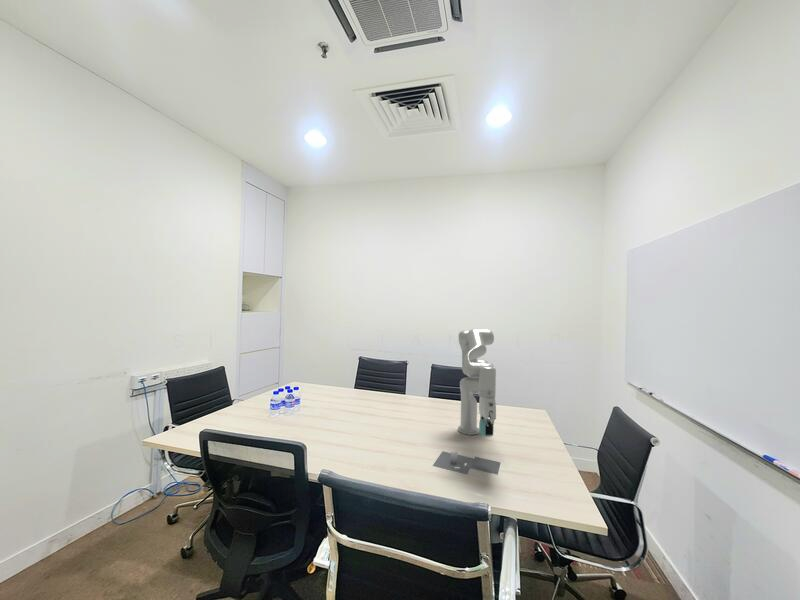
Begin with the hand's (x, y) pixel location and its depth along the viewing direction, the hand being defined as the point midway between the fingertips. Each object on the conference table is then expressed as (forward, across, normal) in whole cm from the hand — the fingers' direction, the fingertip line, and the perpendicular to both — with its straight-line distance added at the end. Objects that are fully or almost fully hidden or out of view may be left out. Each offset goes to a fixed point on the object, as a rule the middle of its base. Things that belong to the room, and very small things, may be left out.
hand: (486, 431), depth 145 cm
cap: (+1, 0, 0) cm, 1 cm away
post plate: (+16, +4, +14) cm, 22 cm away
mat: (+16, 0, 0) cm, 16 cm away
